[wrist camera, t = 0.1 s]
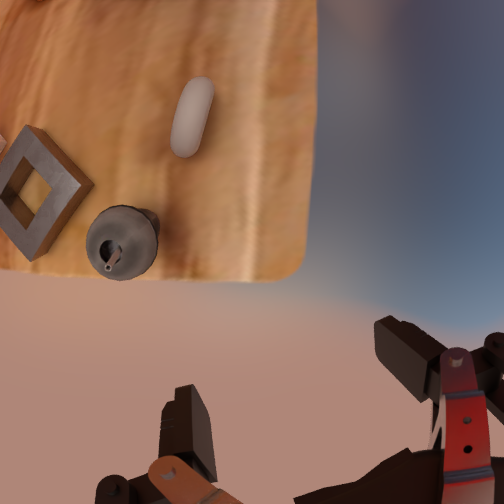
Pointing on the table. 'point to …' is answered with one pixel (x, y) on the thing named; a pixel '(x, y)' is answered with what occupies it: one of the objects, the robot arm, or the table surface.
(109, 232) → the beverage cup
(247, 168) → the table surface
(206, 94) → the donut
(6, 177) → the square socket housing
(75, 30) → the table surface
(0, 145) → the plug peg
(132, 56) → the table surface
